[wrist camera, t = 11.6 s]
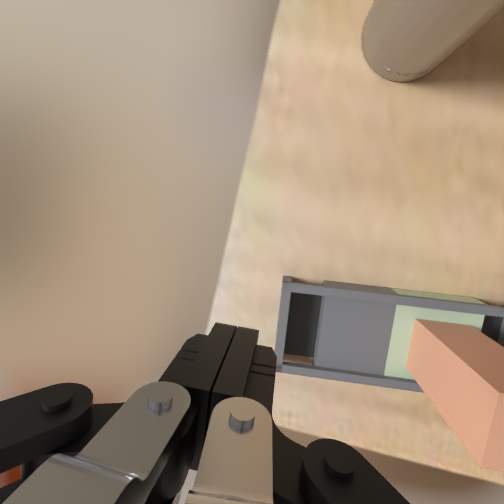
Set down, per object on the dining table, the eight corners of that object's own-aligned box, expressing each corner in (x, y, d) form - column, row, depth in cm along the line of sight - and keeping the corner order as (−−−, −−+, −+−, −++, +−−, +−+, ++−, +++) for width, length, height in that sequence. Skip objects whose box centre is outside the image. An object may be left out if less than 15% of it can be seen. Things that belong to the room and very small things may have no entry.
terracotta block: (414, 318, 35) (498, 392, 22) (470, 325, 35) (592, 405, 21) (405, 367, 36) (480, 467, 23) (459, 374, 36) (568, 481, 22)
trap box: (283, 275, 39) (283, 282, 35) (514, 302, 36) (536, 312, 33) (273, 357, 40) (272, 371, 37) (493, 387, 38) (512, 405, 35)
